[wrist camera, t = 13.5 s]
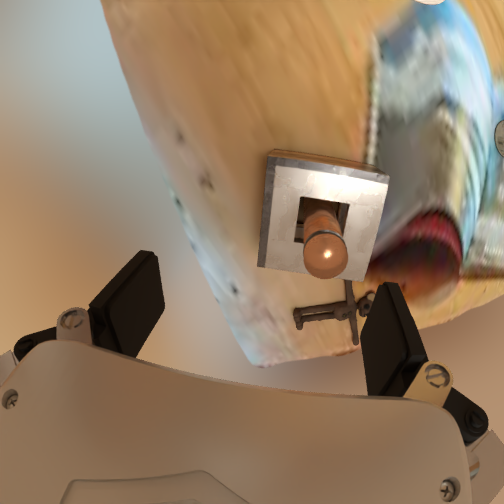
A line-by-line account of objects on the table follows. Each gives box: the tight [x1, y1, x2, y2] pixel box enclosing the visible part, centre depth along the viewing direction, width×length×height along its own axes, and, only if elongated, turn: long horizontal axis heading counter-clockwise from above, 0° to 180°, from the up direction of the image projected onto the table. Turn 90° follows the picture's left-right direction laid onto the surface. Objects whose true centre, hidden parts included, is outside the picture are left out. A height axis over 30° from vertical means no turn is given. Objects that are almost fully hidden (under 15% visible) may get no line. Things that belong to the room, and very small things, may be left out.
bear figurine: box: [293, 279, 376, 345], centre depth 45 cm, size 18×4×14 cm
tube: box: [303, 197, 348, 279], centre depth 31 cm, size 4×4×17 cm
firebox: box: [257, 149, 390, 282], centre depth 35 cm, size 14×14×8 cm
